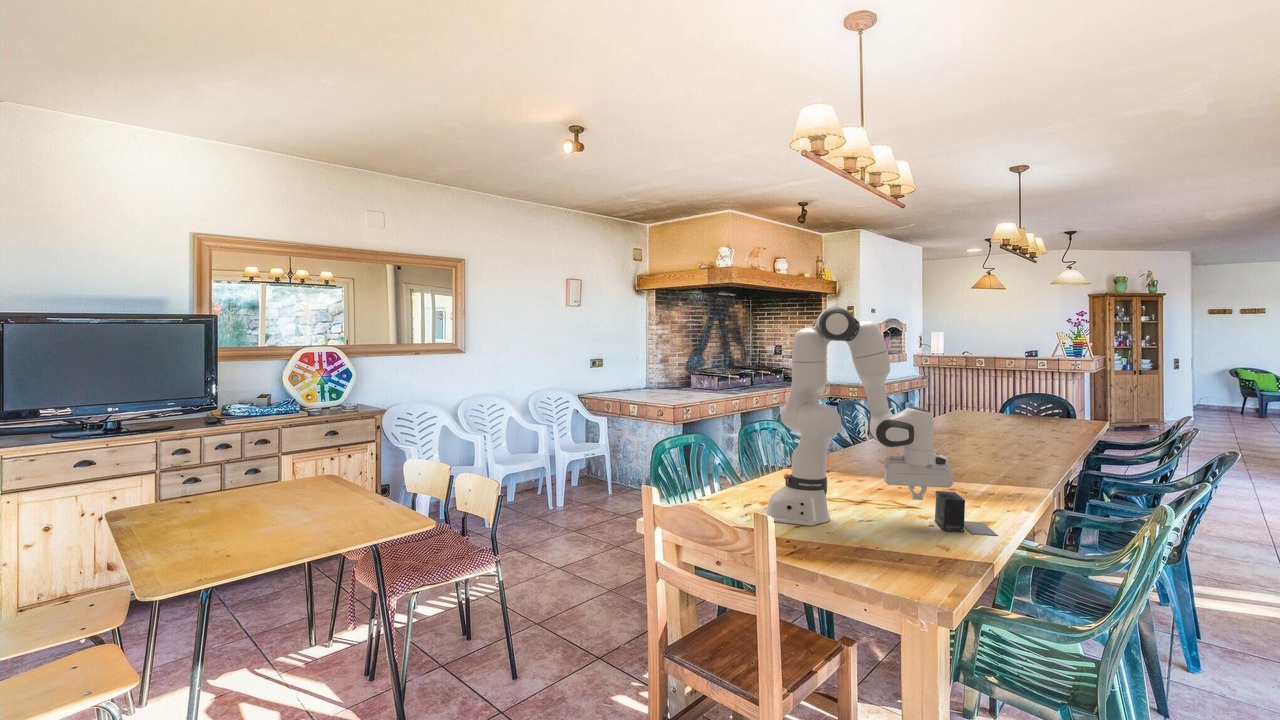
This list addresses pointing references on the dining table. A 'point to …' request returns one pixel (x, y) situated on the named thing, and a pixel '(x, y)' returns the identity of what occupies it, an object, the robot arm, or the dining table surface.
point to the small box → (949, 511)
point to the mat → (978, 528)
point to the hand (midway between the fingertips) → (917, 499)
